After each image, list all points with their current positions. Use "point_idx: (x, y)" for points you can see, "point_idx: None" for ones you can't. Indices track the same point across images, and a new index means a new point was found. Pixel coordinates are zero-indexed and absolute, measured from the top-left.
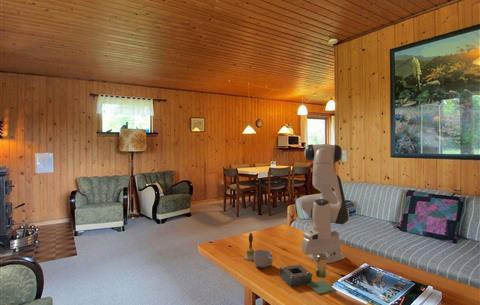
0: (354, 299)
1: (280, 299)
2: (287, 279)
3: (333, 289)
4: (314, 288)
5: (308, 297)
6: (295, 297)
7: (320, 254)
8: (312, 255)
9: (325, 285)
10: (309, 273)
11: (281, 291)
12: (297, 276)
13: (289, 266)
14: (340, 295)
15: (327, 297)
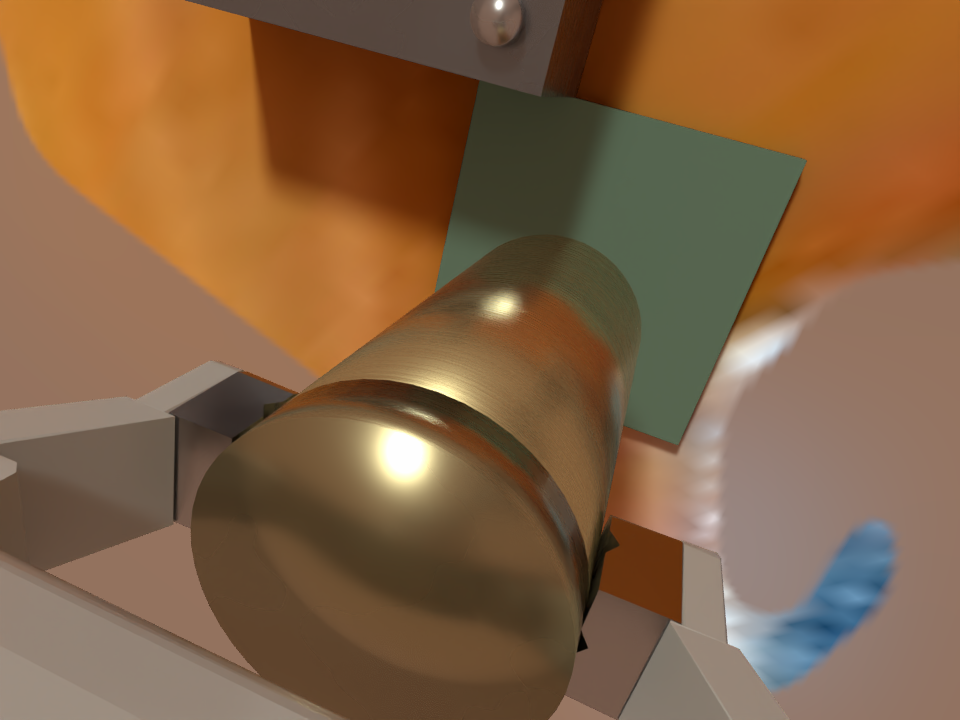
0: None
1: (41, 144)
2: None
3: (656, 419)
4: (467, 244)
5: (300, 303)
6: (185, 214)
7: (431, 529)
8: (11, 419)
9: (665, 291)
10: (518, 46)
11: (106, 9)
12: (248, 6)
13: None
14: (627, 510)
15: None
